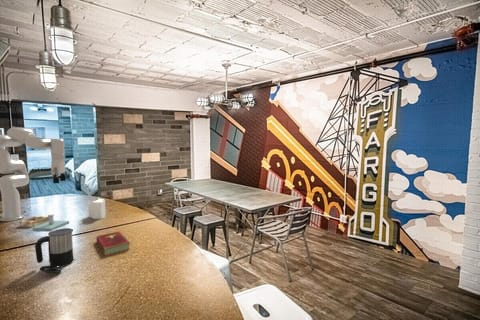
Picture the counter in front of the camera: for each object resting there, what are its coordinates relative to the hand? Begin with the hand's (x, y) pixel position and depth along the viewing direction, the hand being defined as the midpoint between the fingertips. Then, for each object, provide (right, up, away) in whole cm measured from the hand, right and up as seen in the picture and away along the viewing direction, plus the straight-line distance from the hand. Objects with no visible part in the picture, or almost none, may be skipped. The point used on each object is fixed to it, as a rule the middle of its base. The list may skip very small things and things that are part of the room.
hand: (59, 182), depth 171 cm
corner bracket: (+19, -27, +13) cm, 35 cm away
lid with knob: (0, -28, -8) cm, 29 cm away
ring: (-14, -28, -3) cm, 31 cm away
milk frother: (+43, -33, -61) cm, 81 cm away
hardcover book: (+56, -31, -38) cm, 74 cm away
